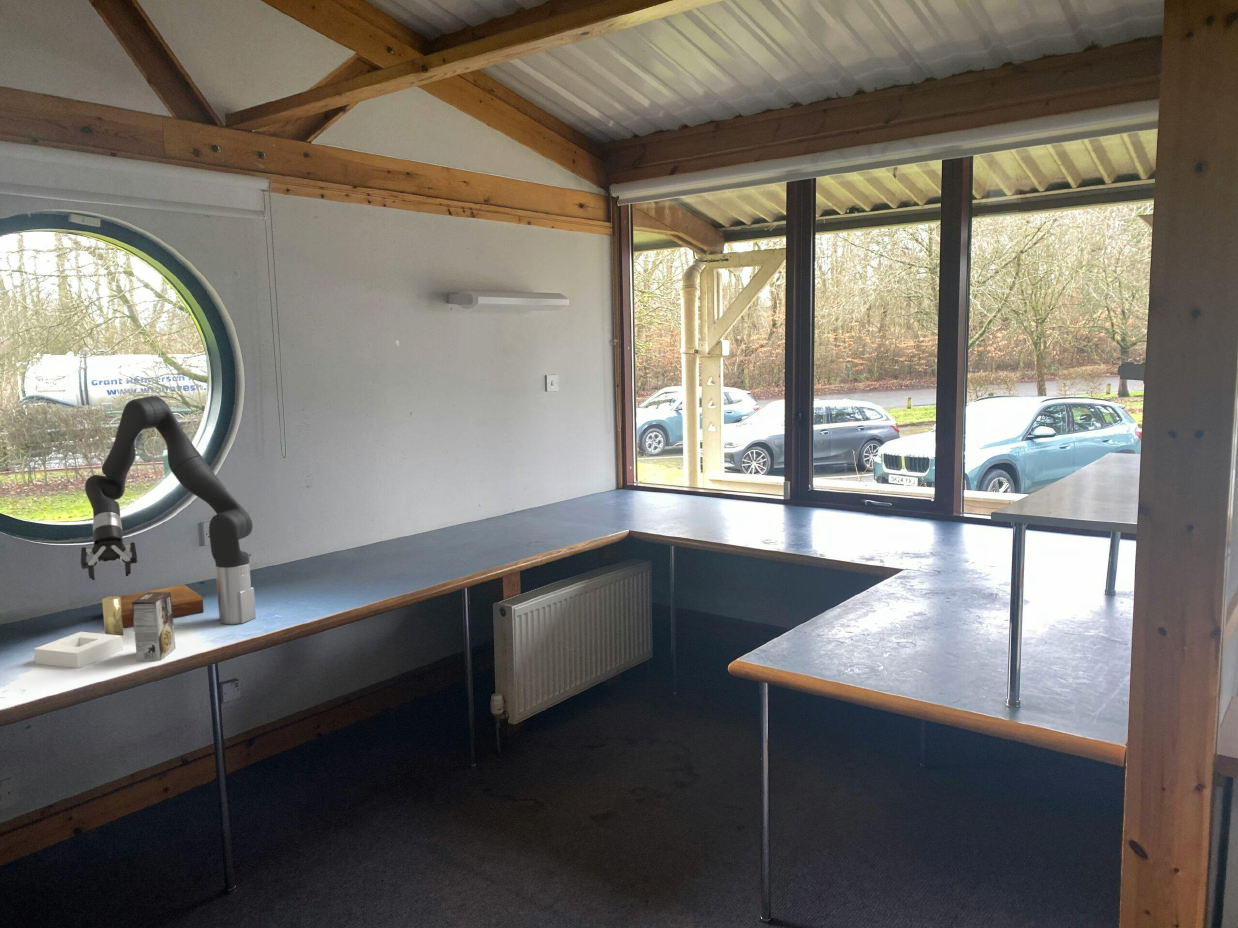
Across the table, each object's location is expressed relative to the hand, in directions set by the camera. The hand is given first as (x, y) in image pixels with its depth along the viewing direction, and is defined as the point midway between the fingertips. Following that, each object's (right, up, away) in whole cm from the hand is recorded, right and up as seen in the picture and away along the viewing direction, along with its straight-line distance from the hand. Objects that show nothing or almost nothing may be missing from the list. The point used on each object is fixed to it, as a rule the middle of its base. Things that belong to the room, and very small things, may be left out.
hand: (110, 576), depth 251 cm
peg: (+4, -16, -5) cm, 17 cm away
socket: (+5, -18, -22) cm, 29 cm away
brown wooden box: (+5, -14, +16) cm, 22 cm away
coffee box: (+25, -18, -21) cm, 37 cm away
